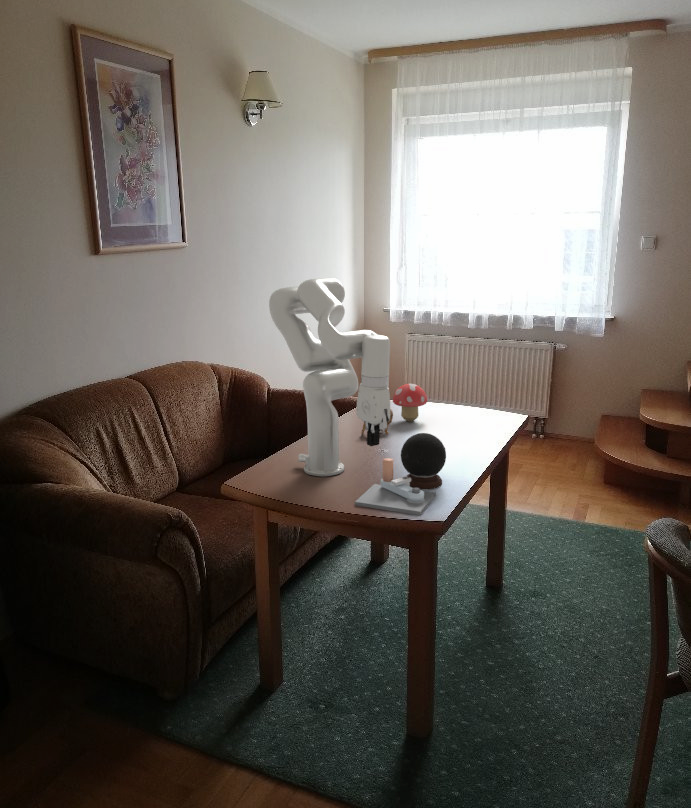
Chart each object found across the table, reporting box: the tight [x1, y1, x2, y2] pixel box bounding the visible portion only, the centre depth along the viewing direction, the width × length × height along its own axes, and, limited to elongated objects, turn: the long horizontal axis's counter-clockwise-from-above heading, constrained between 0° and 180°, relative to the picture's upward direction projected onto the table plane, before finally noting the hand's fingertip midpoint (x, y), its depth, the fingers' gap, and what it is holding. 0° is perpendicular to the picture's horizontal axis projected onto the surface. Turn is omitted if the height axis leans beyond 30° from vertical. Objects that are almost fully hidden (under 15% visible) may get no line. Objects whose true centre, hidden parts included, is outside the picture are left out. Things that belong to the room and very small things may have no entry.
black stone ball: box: [400, 432, 447, 490], centre depth 198 cm, size 13×13×15 cm
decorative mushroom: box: [392, 383, 428, 422], centre depth 263 cm, size 13×13×15 cm
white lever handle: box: [380, 457, 425, 502], centre depth 187 cm, size 16×4×8 cm, turn 35°
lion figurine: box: [360, 408, 394, 438], centre depth 247 cm, size 15×5×9 cm, turn 128°
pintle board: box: [354, 475, 437, 516], centre depth 186 cm, size 18×14×5 cm
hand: (373, 444), depth 189 cm, fingers closed
